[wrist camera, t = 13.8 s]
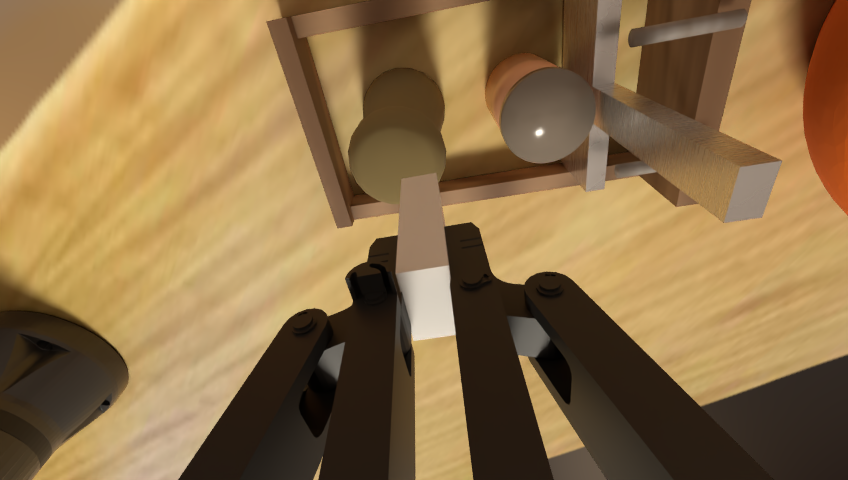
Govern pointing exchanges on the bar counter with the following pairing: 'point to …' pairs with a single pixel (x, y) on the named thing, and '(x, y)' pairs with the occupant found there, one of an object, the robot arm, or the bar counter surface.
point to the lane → (658, 81)
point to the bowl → (829, 104)
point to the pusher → (656, 128)
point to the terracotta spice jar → (539, 107)
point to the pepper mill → (398, 134)
